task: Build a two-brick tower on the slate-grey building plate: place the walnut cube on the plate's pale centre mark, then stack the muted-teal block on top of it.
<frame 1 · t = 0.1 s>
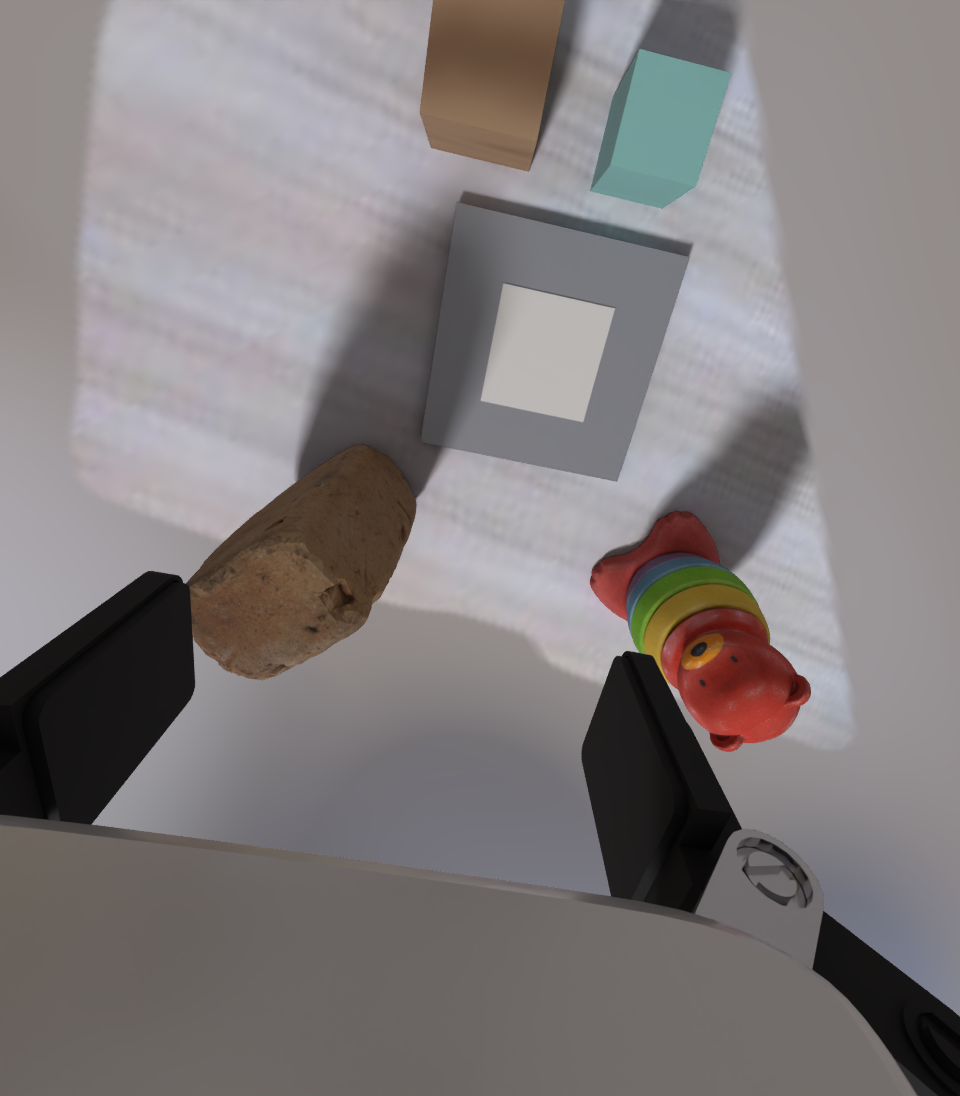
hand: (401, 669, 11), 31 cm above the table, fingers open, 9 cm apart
teal block: (638, 154, 32), on the table
brown rounded lumpy part: (353, 496, 42), on the table
stacking bear: (661, 577, 45), on the table
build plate: (543, 355, 37), on the table
walnut cube: (490, 97, 31), on the table
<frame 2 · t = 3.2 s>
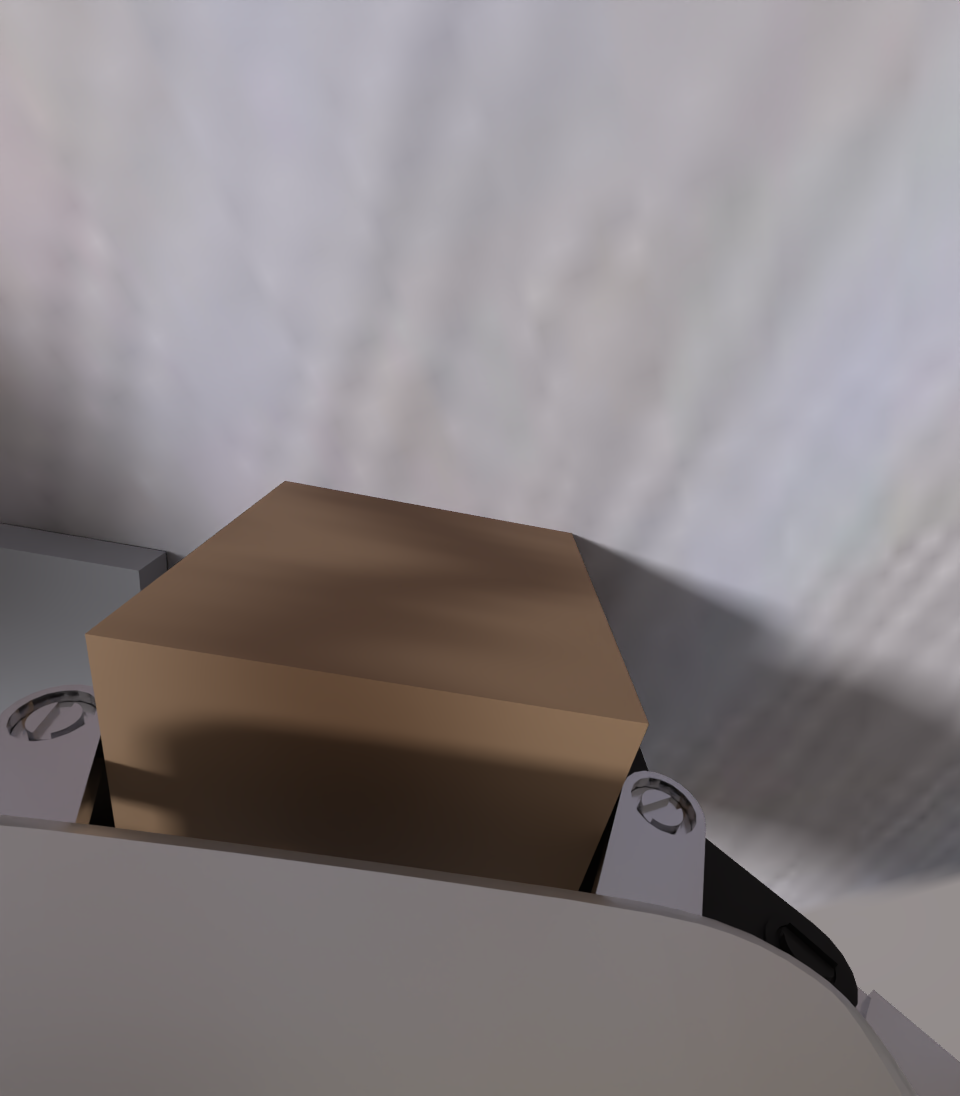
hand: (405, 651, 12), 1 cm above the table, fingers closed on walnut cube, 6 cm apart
walnut cube: (411, 628, 13), on the table, touching gripper
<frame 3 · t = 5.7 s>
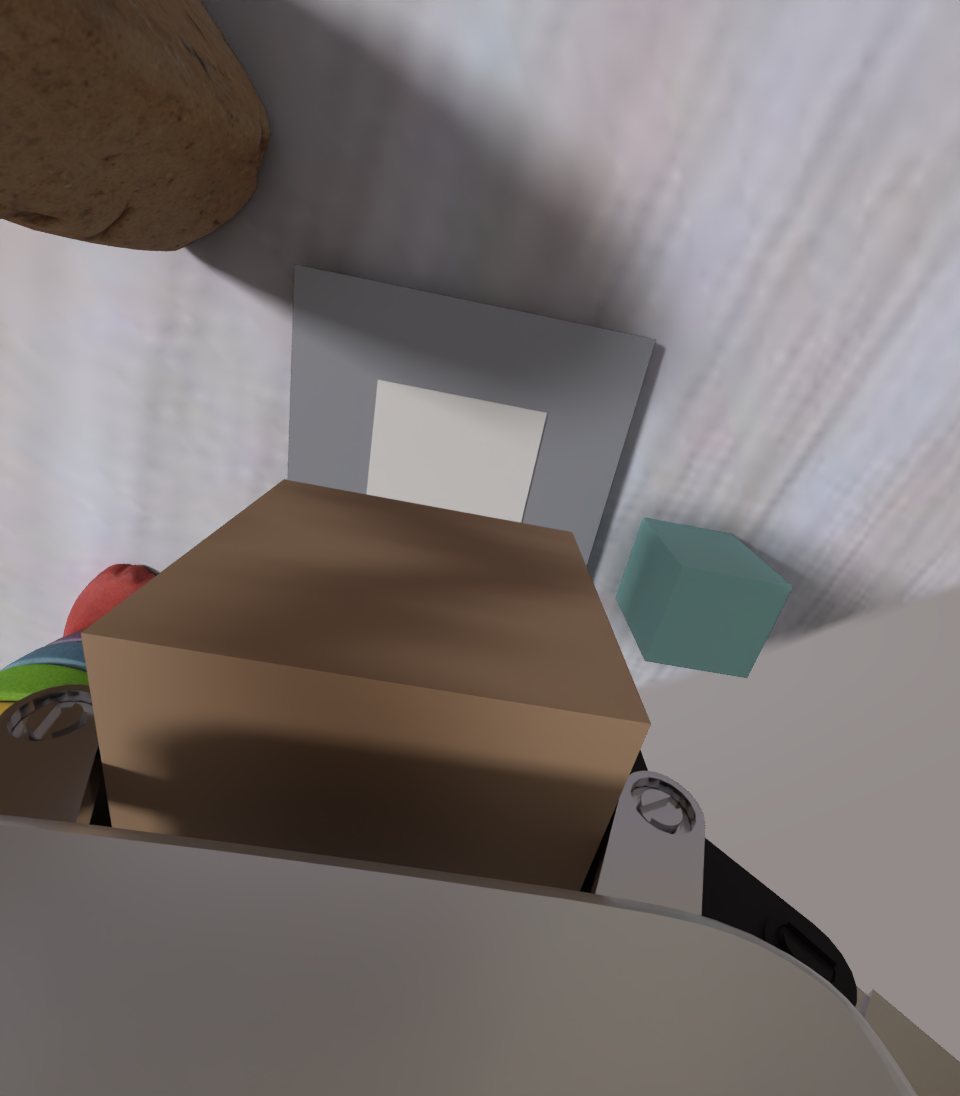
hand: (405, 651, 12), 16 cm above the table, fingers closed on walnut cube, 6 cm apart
teal block: (671, 566, 28), on the table
brown rounded lumpy part: (159, 95, 20), on the table
stacking bear: (159, 654, 31), on the table
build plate: (451, 472, 26), on the table
walnut cube: (411, 627, 12), point 15 cm above the table, touching gripper
when the fingers open (3 cm above the table, at t = 8.4 s): walnut cube drops 1 cm, resting on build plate.
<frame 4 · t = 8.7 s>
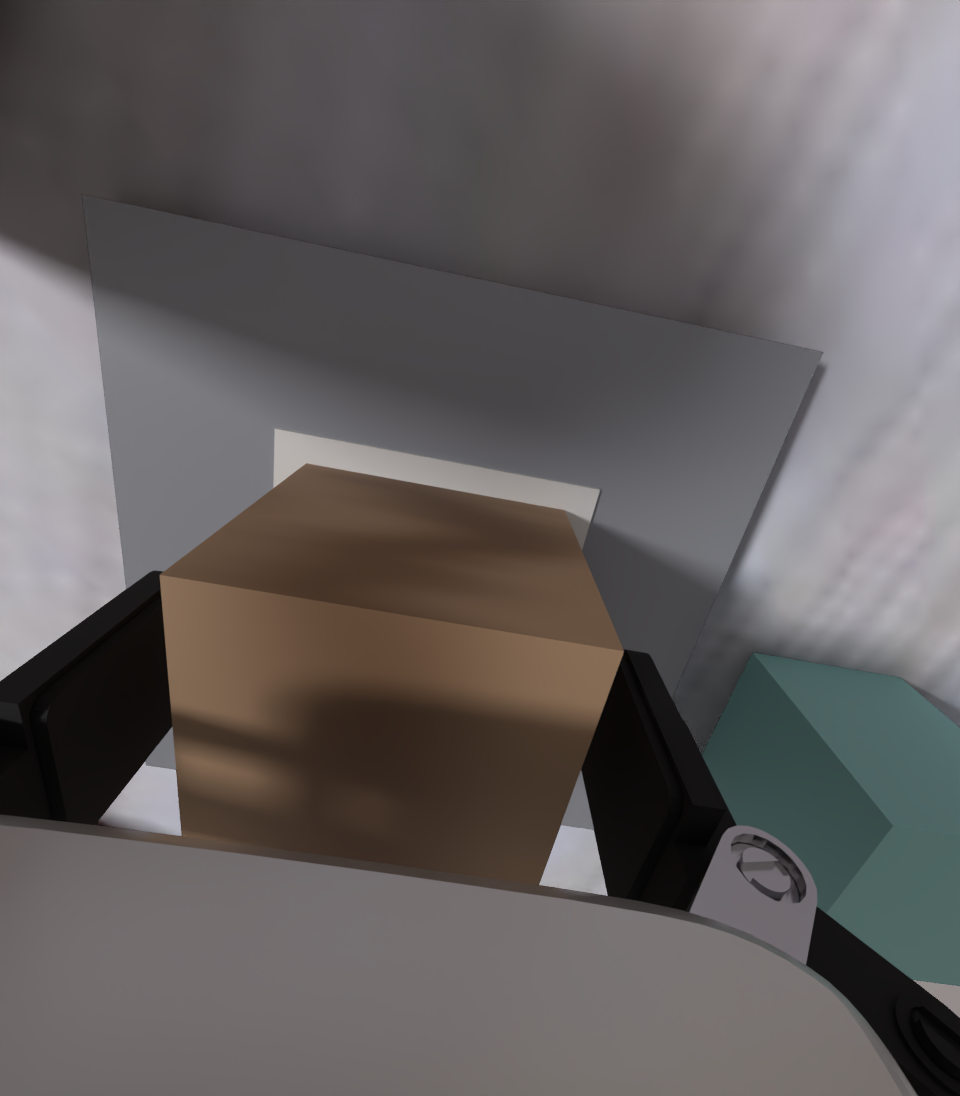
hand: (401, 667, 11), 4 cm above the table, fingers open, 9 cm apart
teal block: (792, 723, 17), on the table
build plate: (422, 581, 15), on the table
walnut cube: (420, 599, 14), point 1 cm above the table, touching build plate
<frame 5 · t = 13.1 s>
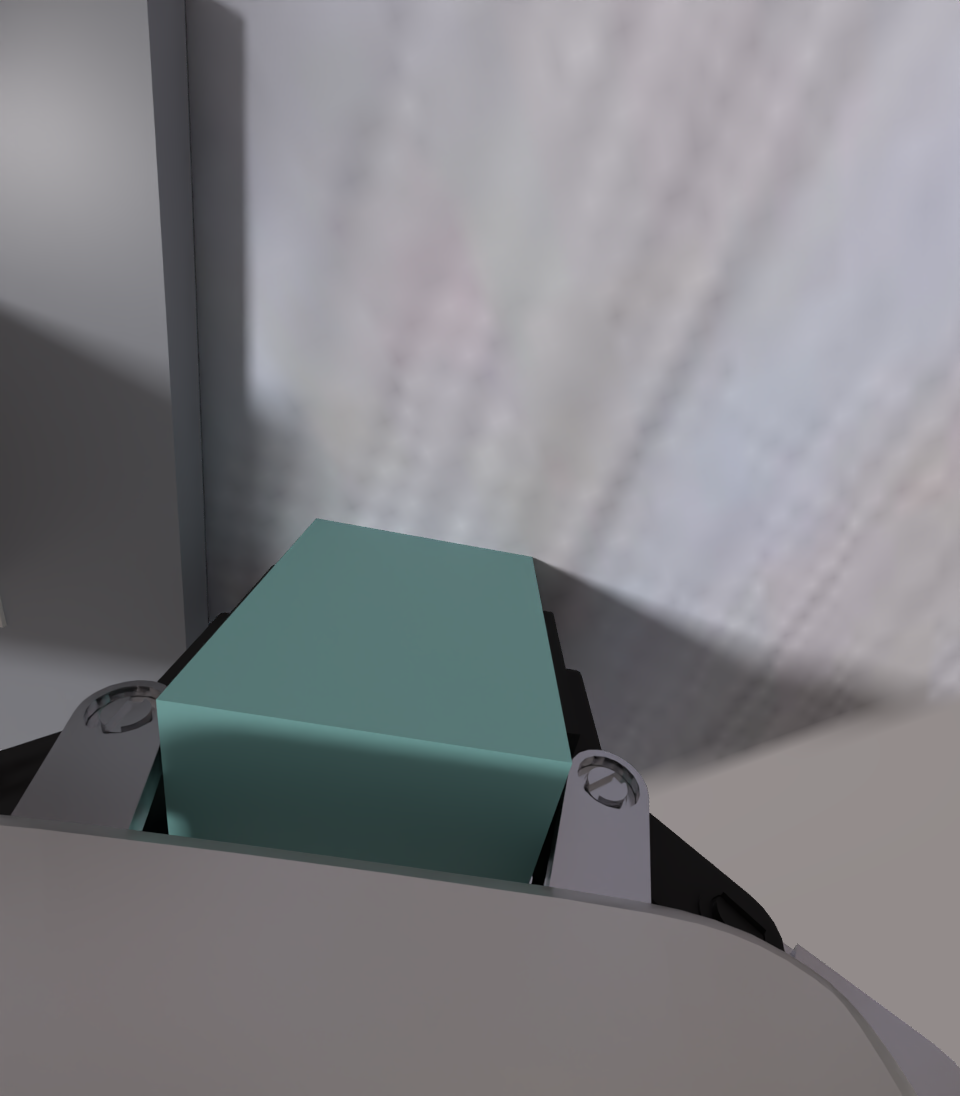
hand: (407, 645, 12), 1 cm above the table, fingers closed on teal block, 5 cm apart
teal block: (411, 628, 12), on the table, touching gripper
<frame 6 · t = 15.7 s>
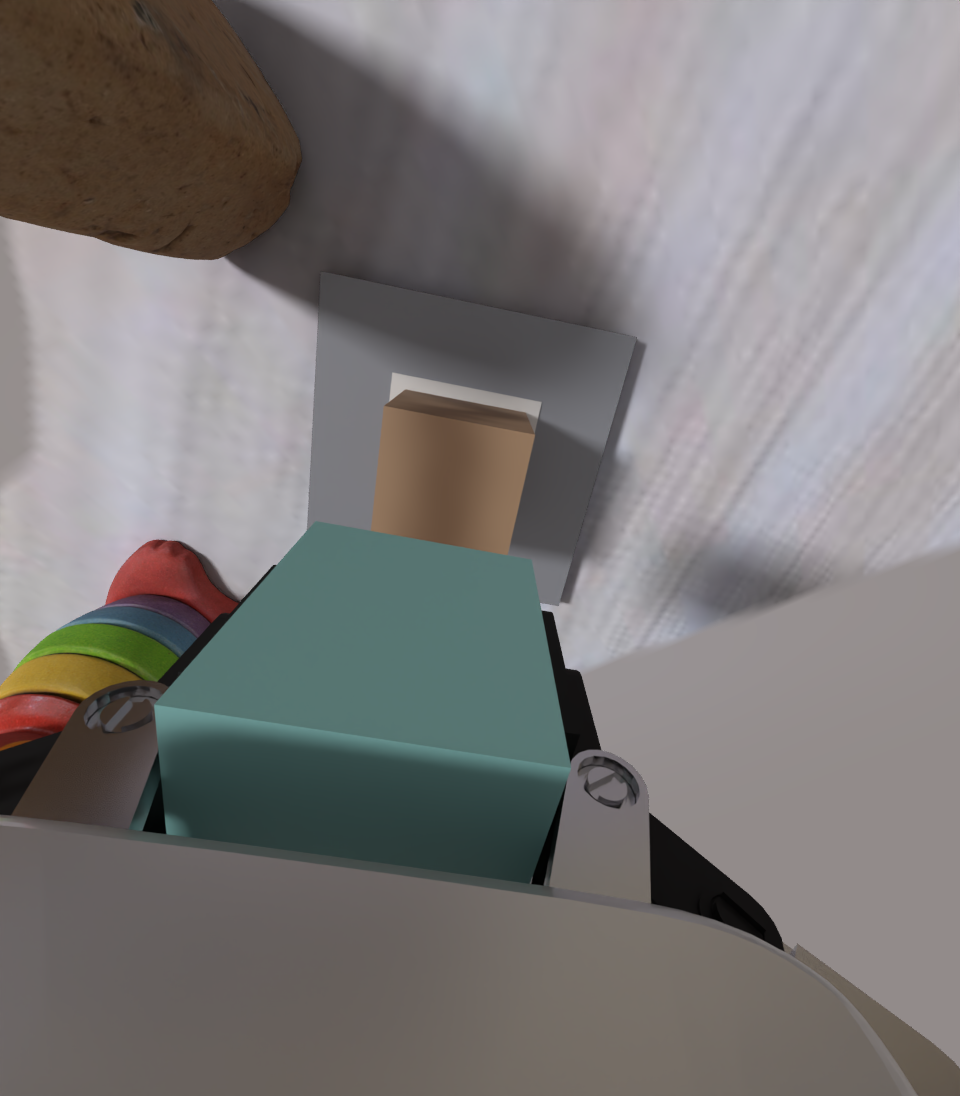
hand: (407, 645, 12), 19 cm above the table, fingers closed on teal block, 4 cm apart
teal block: (410, 631, 12), point 18 cm above the table, touching gripper
brown rounded lumpy part: (204, 125, 23), on the table
stacking bear: (189, 624, 34), on the table
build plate: (456, 456, 29), on the table
walnut cube: (456, 460, 28), point 1 cm above the table, touching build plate
when the fingers open (9 cm above the table, at t = 18.2 s): teal block drops 1 cm, resting on walnut cube.
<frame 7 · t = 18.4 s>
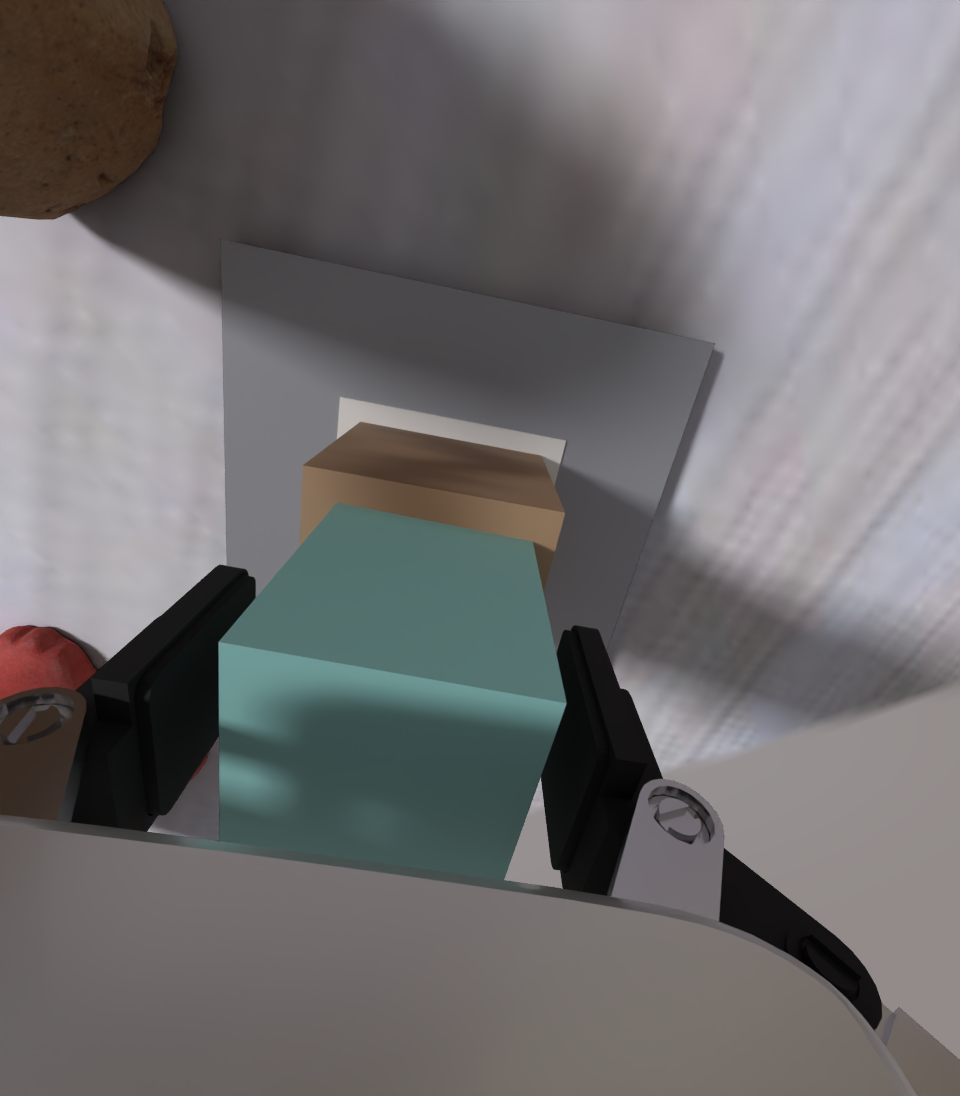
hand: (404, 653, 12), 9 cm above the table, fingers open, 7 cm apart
teal block: (420, 606, 14), point 7 cm above the table, touching walnut cube
stacking bear: (81, 730, 25), on the table
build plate: (439, 514, 20), on the table
walnut cube: (438, 522, 19), point 1 cm above the table, touching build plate, teal block
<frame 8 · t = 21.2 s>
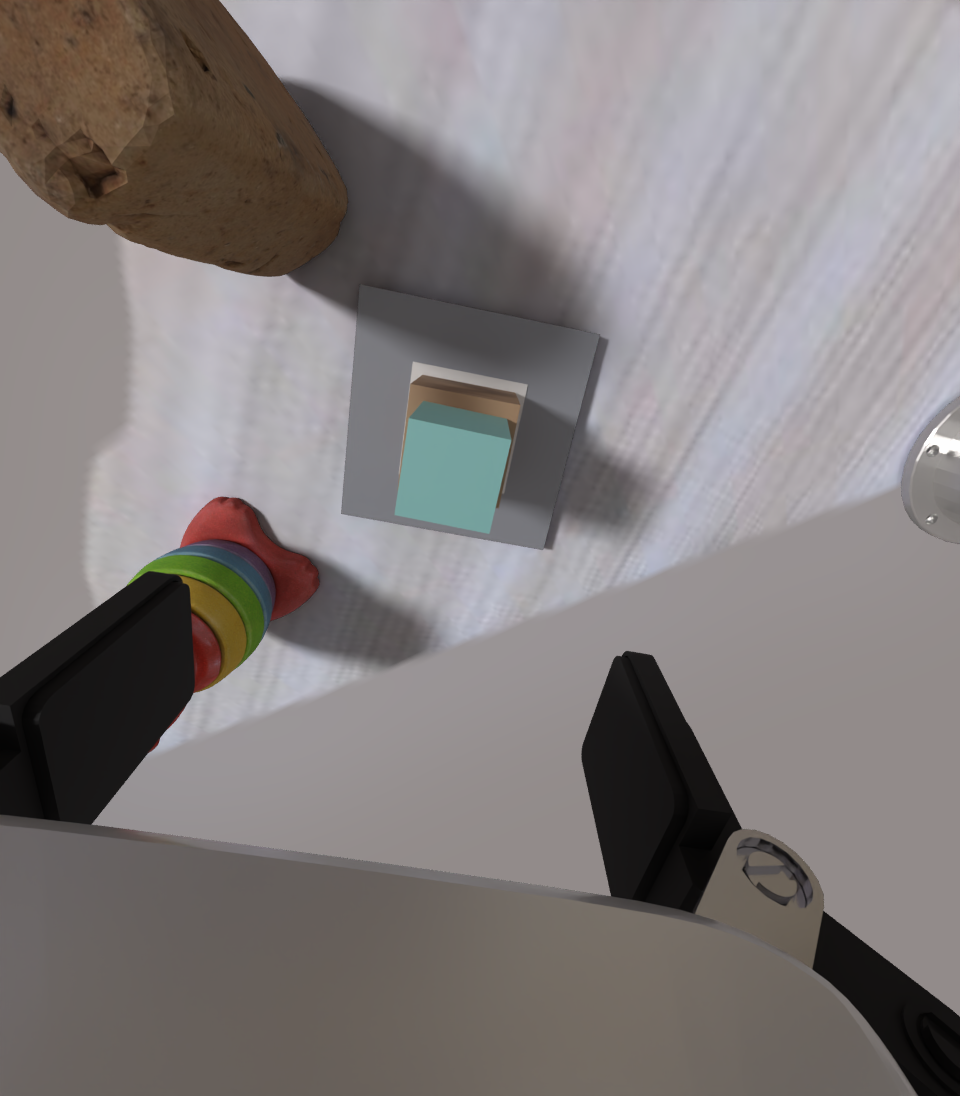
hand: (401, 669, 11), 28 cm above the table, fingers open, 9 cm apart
teal block: (457, 451, 30), point 7 cm above the table, touching walnut cube
brown rounded lumpy part: (274, 175, 31), on the table
stacking bear: (243, 568, 42), on the table
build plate: (461, 428, 37), on the table
walnut cube: (461, 430, 36), point 1 cm above the table, touching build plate, teal block
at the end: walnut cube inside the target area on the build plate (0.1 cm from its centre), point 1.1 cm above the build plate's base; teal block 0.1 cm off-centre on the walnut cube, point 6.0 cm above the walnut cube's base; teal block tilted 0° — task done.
